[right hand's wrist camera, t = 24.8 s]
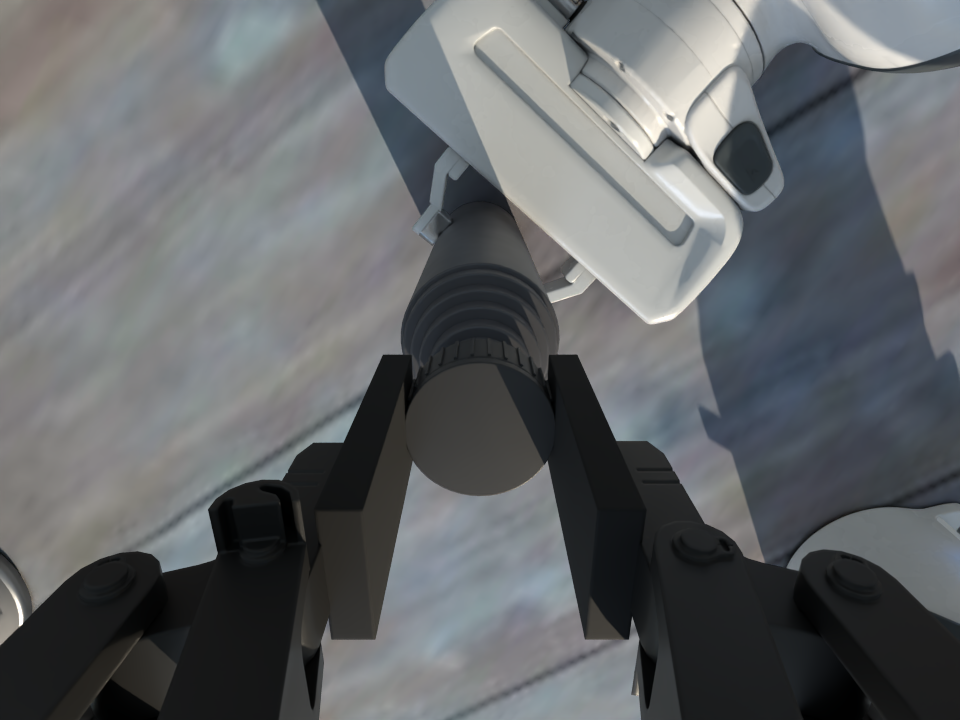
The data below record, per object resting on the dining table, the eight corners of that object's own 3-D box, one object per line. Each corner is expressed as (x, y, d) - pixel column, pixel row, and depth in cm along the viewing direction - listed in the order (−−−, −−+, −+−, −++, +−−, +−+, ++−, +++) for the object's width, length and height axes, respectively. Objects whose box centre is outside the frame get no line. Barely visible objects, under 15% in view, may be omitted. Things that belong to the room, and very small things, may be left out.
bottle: (509, 292, 38) (553, 524, 15) (431, 273, 38) (354, 484, 15) (530, 213, 36) (619, 342, 13) (448, 192, 36) (392, 287, 13)
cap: (547, 464, 16) (554, 499, 14) (412, 463, 16) (404, 497, 14) (555, 337, 14) (564, 360, 13) (406, 335, 14) (397, 359, 13)
